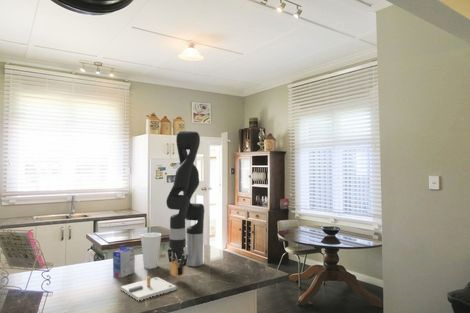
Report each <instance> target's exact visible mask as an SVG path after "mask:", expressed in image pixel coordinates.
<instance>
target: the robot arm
mask: <svg viewBox="0 0 470 313" xmlns="http://www.w3.org/2000/svg"><path fill="white" fill-rule="evenodd" d="M200 137H201V136H200V134H199V132H198V131H188V130H187V131H185V130H180V131H178V132H177V133H176V137H175V138H176V139H175V140H176V148H177V153H178V158H179V166H178V167H177V169H176V172H175V176H174V180H173V185H172V187H171V189H170V191H169V193H168V195H167V198H166V207H167V208H168V209H170V210H176V211H178V212H177V213H176V214H172V215H171V216H170V218H169V234H168V235H169V237H168V240H169V242H168V243H169V246H168V247H169V249H167V254H168V255H167V256H168V261H169V263H171V262H174V260H176V262H177V263H178V275H181V276H183V275H182V274H183V267H184V268H185V267H186V266H187V267H188V266H189V267H200V266H203V264H204V221H205V218H204V217H205V206H204V204H203V203H191V199H192V197H193V195H194V193H195V192H196V191H197V189H198V187H199V185H200V174H199V170H198V168H197V167H196V165H195V163H194V162H195V160H196V158H197V154H198V151H199V147H200V144H201V143H200V142H201V138H200ZM188 151H189V152H188ZM181 192H182V194H180V193H181ZM186 221H196V222H197V223H195V224H193V225H189V226H188V227H186ZM184 249H185V250H184ZM180 262H181V263H180ZM183 263H184V264H183Z"/></svg>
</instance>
